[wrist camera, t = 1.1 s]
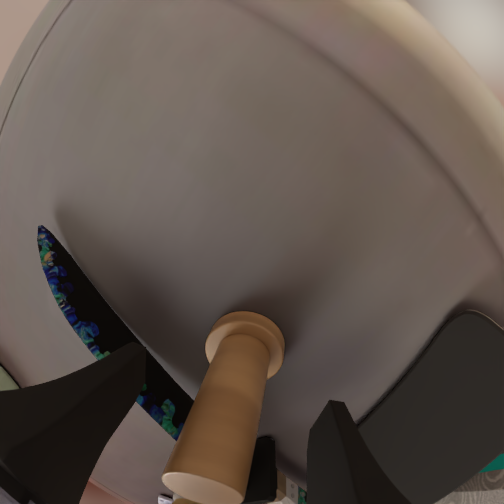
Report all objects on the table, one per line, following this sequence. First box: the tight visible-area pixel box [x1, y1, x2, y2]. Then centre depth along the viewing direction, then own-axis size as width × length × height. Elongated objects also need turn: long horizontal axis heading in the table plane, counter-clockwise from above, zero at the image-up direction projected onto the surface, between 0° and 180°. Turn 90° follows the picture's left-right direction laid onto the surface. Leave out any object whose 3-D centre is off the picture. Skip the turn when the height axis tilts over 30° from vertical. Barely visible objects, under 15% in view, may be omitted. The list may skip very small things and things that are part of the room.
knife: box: [37, 225, 307, 504], centre depth 14 cm, size 31×3×4 cm, turn 36°
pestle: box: [162, 311, 285, 504], centre depth 10 cm, size 4×4×8 cm
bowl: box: [0, 366, 20, 391], centre depth 20 cm, size 10×10×4 cm
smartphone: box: [357, 310, 504, 504], centre depth 11 cm, size 8×1×15 cm
